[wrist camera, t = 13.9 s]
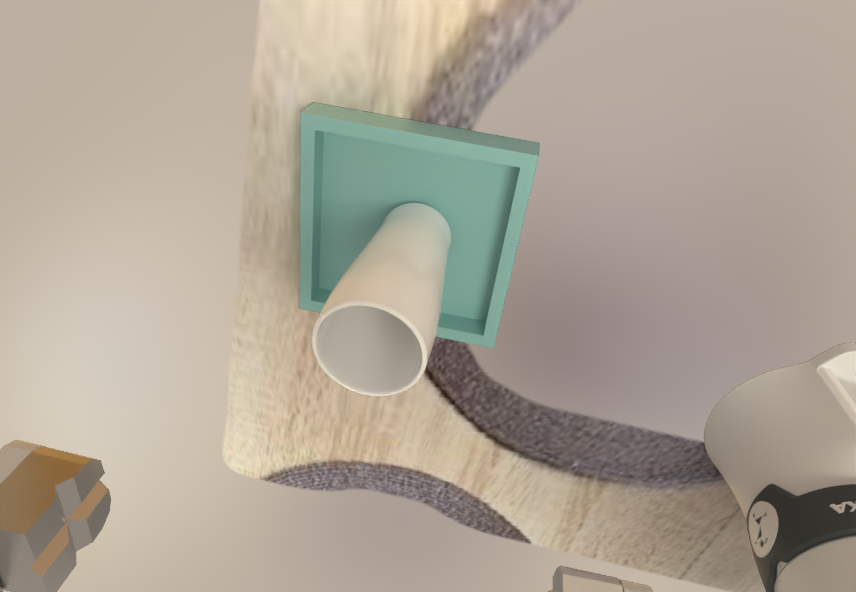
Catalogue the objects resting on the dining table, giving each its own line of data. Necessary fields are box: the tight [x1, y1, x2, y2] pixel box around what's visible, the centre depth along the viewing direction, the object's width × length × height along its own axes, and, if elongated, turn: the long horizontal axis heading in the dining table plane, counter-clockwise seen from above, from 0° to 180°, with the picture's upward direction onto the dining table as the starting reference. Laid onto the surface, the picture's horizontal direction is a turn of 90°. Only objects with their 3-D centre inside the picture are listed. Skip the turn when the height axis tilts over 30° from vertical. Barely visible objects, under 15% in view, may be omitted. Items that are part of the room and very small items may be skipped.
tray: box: [299, 102, 539, 348], centre depth 46 cm, size 16×16×3 cm
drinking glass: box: [312, 203, 451, 396], centre depth 40 cm, size 7×7×15 cm
